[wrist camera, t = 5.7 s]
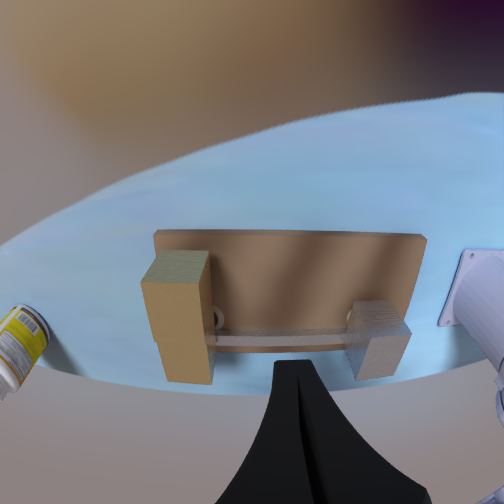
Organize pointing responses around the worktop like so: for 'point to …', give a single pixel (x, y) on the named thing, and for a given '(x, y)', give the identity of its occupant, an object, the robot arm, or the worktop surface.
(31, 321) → the supplement bottle
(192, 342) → the divider leg
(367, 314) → the grey piece
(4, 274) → the worktop surface
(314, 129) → the worktop surface
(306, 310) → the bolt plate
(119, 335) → the worktop surface
